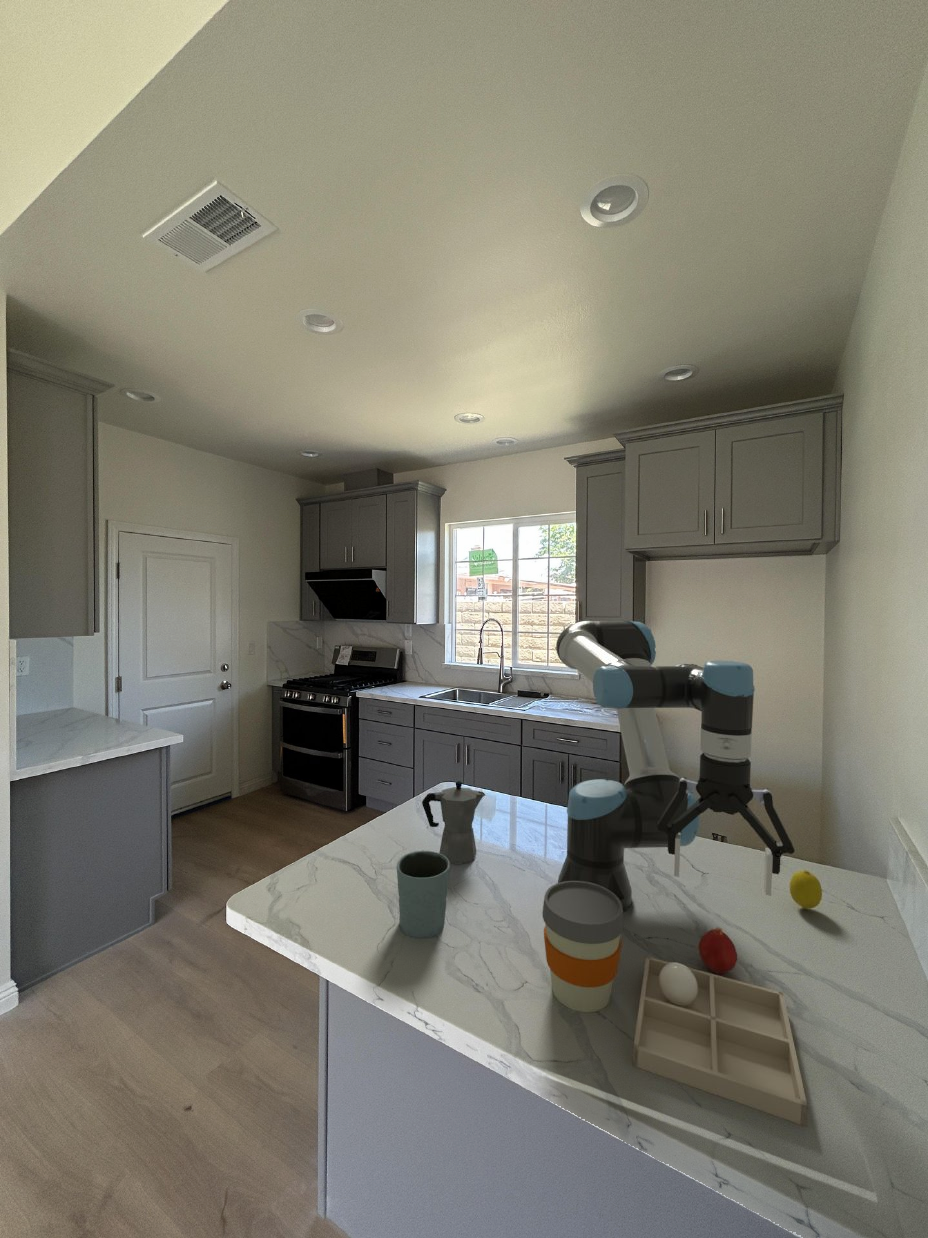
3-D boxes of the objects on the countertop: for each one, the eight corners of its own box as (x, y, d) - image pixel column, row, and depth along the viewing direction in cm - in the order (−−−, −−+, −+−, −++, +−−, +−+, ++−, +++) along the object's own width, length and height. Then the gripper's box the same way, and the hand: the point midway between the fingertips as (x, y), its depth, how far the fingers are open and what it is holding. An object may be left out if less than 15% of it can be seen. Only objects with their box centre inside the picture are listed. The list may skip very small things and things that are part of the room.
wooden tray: (632, 1069, 72) (633, 1047, 71) (645, 973, 90) (646, 956, 90) (806, 1130, 64) (807, 1106, 64) (782, 1011, 82) (783, 993, 82)
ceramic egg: (657, 1008, 82) (658, 972, 81) (659, 984, 87) (660, 950, 86) (697, 1020, 79) (698, 984, 79) (697, 994, 84) (698, 960, 84)
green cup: (425, 903, 109) (426, 845, 109) (460, 925, 102) (461, 864, 101) (385, 924, 102) (385, 862, 102) (419, 949, 95) (419, 883, 94)
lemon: (826, 919, 106) (827, 879, 105) (795, 915, 107) (796, 876, 106) (813, 903, 111) (815, 865, 111) (784, 899, 112) (786, 862, 112)
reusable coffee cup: (619, 972, 90) (621, 885, 89) (624, 1032, 78) (627, 931, 77) (544, 960, 93) (545, 875, 92) (537, 1015, 80) (539, 918, 80)
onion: (691, 962, 93) (693, 917, 92) (723, 960, 93) (725, 916, 93) (709, 986, 87) (711, 939, 86) (743, 985, 87) (745, 937, 87)
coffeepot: (479, 843, 135) (480, 773, 135) (489, 862, 126) (490, 786, 125) (418, 849, 132) (419, 777, 131) (424, 868, 123) (425, 791, 122)
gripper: (643, 752, 90) (640, 876, 91) (819, 773, 80) (813, 912, 81) (647, 741, 97) (644, 856, 98) (809, 759, 87) (804, 887, 88)
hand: (720, 882), depth 89 cm, fingers open, 13 cm apart
